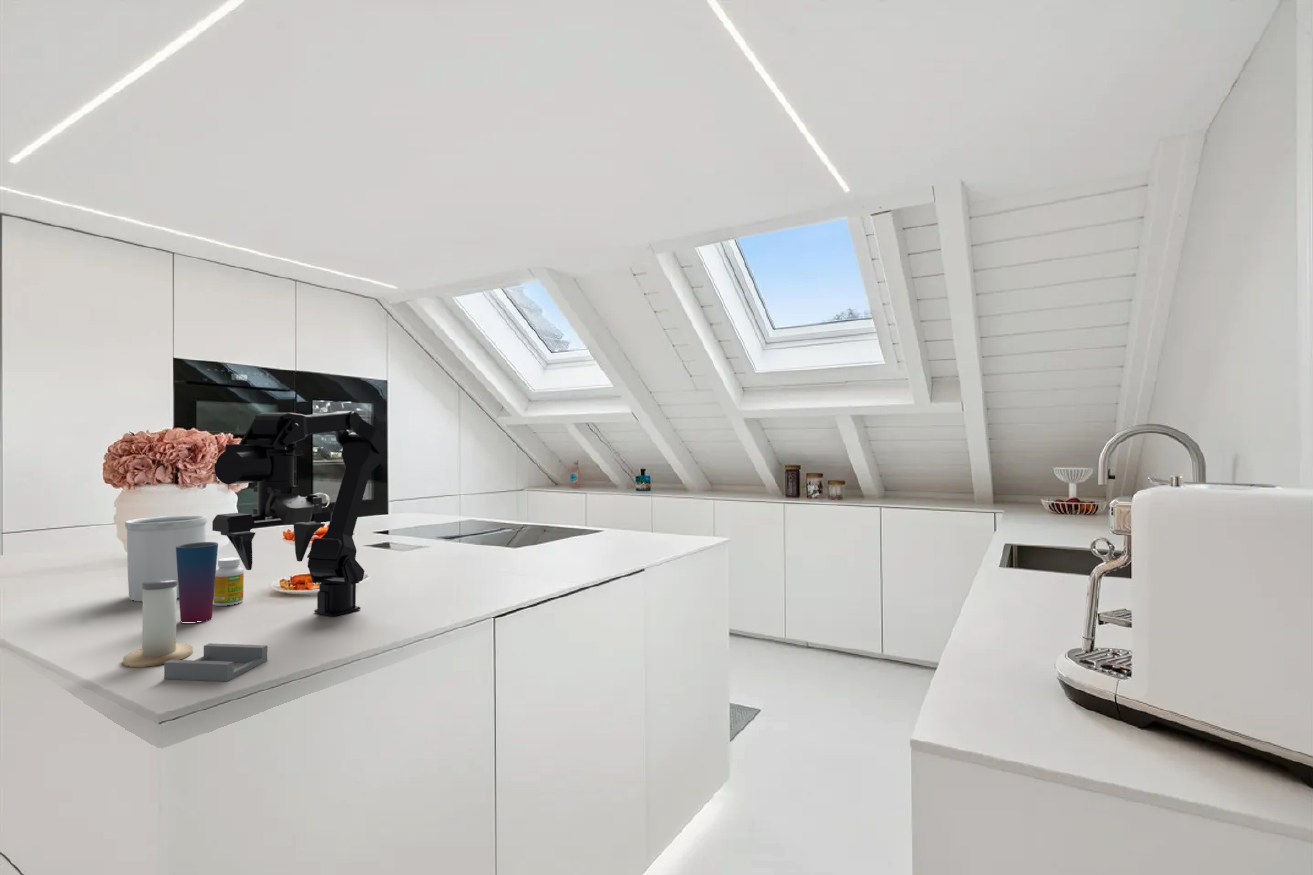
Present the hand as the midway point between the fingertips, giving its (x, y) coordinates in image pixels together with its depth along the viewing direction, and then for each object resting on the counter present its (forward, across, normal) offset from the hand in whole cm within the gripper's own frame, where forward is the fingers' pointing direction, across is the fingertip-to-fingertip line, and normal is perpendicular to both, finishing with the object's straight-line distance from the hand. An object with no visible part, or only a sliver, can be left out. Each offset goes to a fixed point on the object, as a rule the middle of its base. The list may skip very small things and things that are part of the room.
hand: (275, 565), depth 116 cm
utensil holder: (+13, +5, +51) cm, 53 cm away
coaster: (+13, -16, +5) cm, 21 cm away
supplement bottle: (+13, +8, +31) cm, 35 cm away
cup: (+13, -2, +23) cm, 27 cm away
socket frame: (+13, -14, -9) cm, 21 cm away
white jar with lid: (+12, -16, +5) cm, 21 cm away
